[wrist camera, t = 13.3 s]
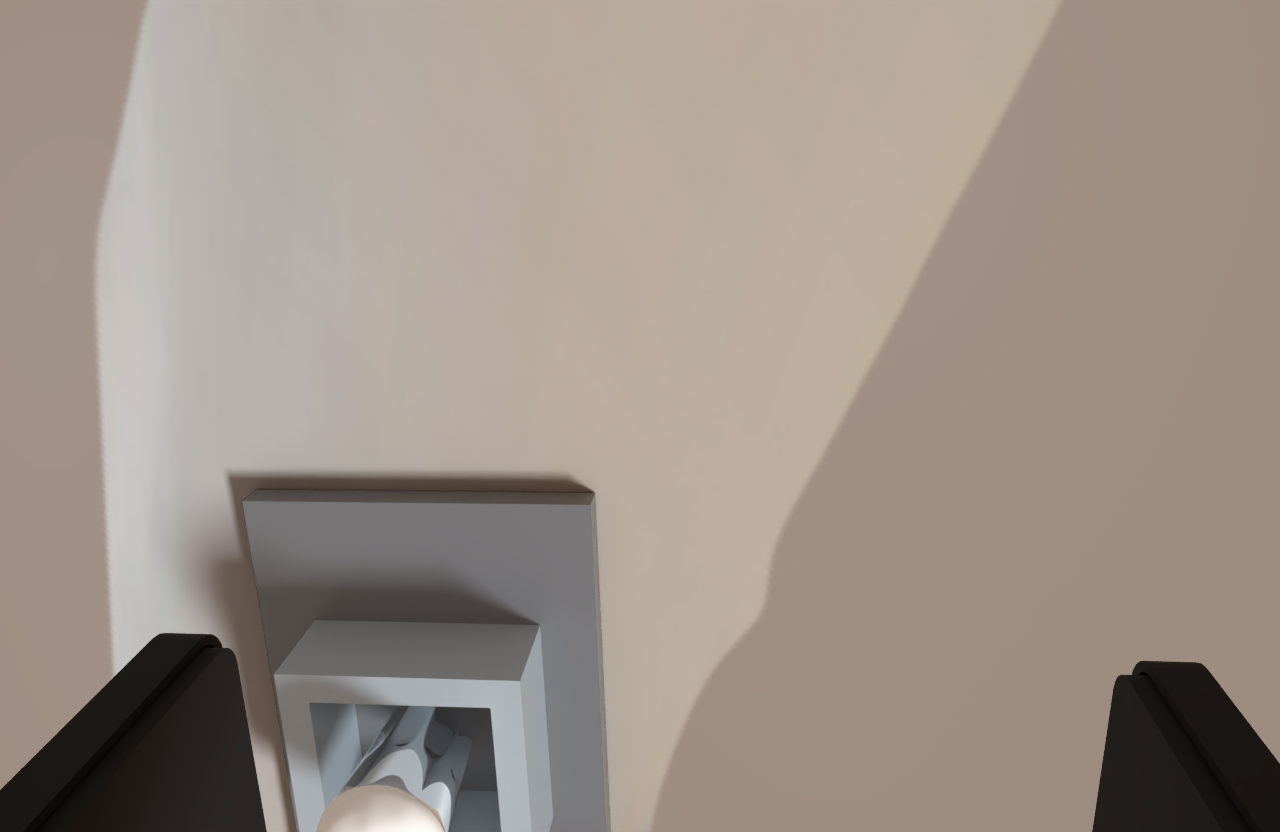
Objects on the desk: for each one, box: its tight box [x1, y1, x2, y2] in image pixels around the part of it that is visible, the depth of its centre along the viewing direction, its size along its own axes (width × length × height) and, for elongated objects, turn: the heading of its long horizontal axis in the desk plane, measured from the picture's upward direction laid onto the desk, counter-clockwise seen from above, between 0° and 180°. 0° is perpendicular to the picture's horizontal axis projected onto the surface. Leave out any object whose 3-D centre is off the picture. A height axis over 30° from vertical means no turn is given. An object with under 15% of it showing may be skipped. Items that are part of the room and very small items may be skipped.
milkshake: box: [316, 705, 482, 832], centre depth 39 cm, size 4×5×10 cm
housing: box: [242, 489, 611, 832], centre depth 42 cm, size 20×14×5 cm
